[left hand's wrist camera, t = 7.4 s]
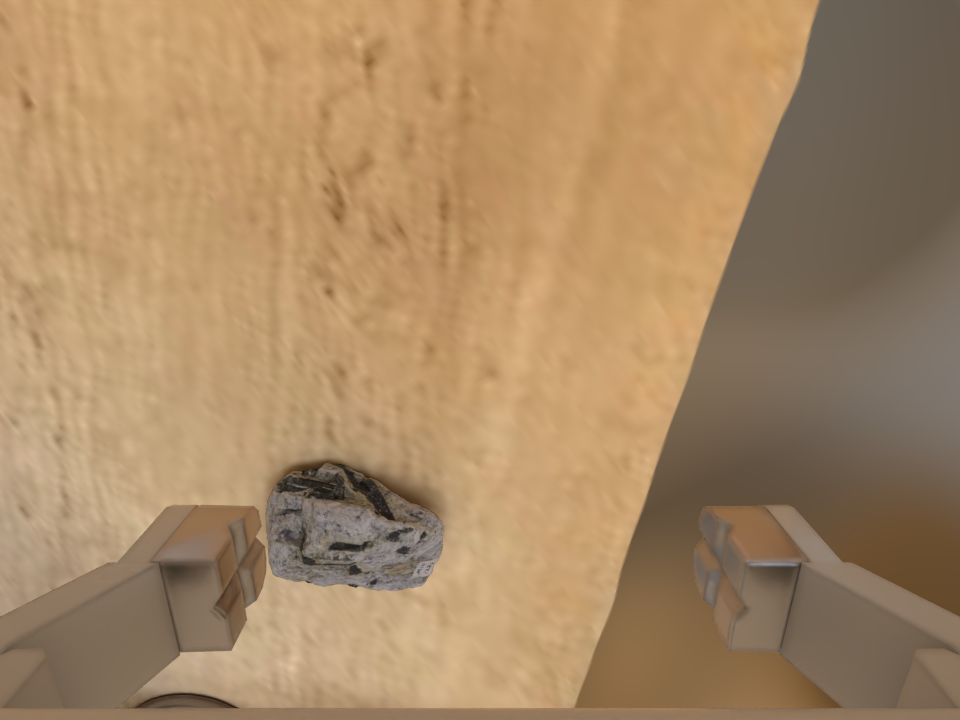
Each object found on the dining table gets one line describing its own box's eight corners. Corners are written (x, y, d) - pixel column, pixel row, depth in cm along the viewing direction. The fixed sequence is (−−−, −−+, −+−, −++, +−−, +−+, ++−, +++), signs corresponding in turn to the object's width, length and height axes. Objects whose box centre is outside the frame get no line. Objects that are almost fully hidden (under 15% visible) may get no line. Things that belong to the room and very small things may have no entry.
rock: (264, 544, 51) (233, 605, 44) (282, 446, 47) (253, 496, 41) (427, 578, 52) (421, 642, 46) (456, 486, 49) (455, 540, 42)
